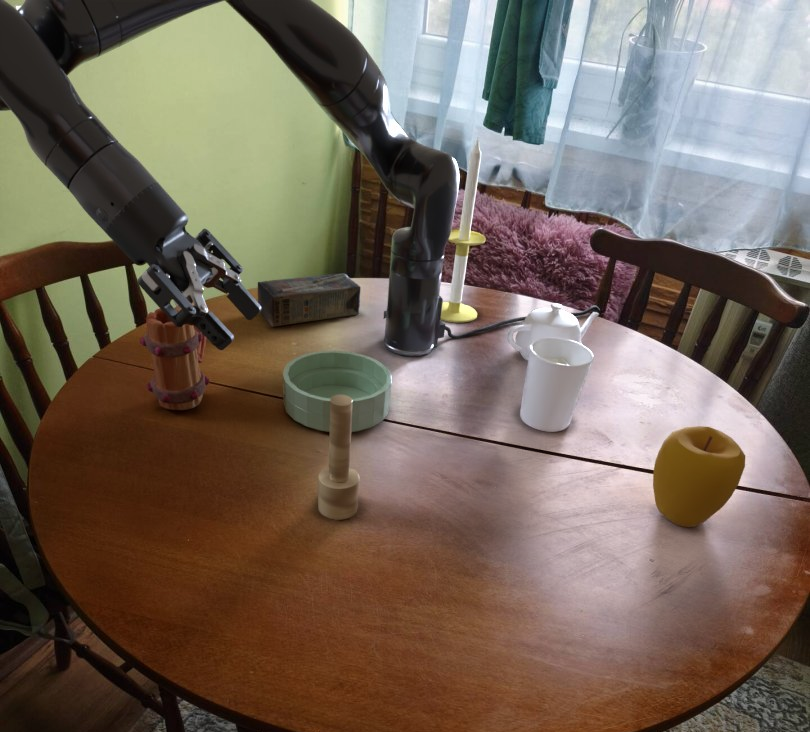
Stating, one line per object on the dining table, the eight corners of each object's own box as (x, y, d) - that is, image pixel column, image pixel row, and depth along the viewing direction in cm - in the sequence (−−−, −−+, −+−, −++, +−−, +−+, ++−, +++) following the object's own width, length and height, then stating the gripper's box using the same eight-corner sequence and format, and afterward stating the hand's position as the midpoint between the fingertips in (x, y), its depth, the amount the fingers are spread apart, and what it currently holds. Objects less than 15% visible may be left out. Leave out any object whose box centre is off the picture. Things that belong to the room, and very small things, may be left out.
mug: (192, 422, 104) (180, 326, 94) (141, 413, 104) (124, 317, 95) (230, 379, 115) (223, 289, 105) (184, 370, 115) (172, 280, 106)
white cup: (538, 398, 119) (554, 331, 111) (586, 422, 114) (606, 354, 107) (503, 415, 114) (517, 347, 106) (551, 441, 109) (569, 372, 101)
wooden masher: (344, 491, 94) (348, 385, 84) (365, 512, 91) (372, 405, 81) (310, 502, 92) (310, 394, 81) (330, 524, 88) (333, 415, 78)
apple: (644, 482, 102) (673, 405, 94) (719, 504, 100) (756, 427, 91) (633, 523, 94) (664, 444, 86) (714, 548, 92) (755, 468, 83)
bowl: (353, 375, 119) (355, 343, 116) (408, 420, 110) (412, 386, 106) (266, 396, 111) (264, 362, 107) (317, 447, 102) (317, 411, 98)
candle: (482, 309, 147) (511, 136, 126) (469, 326, 140) (497, 145, 119) (438, 299, 149) (459, 127, 128) (423, 315, 142) (442, 135, 121)
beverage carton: (361, 315, 139) (362, 283, 135) (272, 329, 130) (270, 295, 126) (343, 300, 144) (344, 268, 140) (255, 313, 135) (254, 279, 131)
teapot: (570, 337, 140) (583, 287, 133) (608, 364, 132) (623, 313, 125) (485, 348, 133) (495, 296, 126) (520, 378, 124) (532, 324, 118)
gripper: (114, 198, 64) (240, 336, 70) (181, 165, 75) (285, 287, 81) (73, 249, 68) (196, 375, 74) (142, 210, 79) (245, 323, 85)
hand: (243, 329), depth 78 cm, fingers open, 8 cm apart
